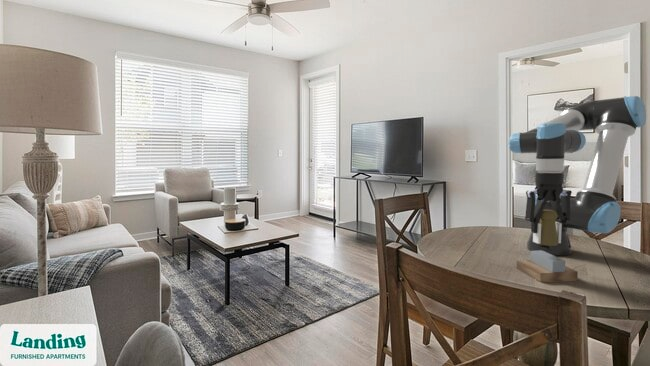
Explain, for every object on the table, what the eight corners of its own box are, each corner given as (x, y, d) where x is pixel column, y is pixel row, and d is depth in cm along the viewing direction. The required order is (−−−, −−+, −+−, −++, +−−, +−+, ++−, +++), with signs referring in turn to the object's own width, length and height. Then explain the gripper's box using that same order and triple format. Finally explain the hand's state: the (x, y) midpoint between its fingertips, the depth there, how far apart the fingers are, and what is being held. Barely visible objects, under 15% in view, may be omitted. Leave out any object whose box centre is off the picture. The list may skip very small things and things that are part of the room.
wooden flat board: (549, 268, 115) (550, 259, 115) (577, 282, 104) (577, 271, 103) (516, 270, 115) (516, 260, 115) (540, 284, 103) (540, 273, 103)
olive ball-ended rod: (550, 246, 104) (551, 212, 103) (531, 242, 110) (532, 209, 109) (562, 244, 106) (563, 210, 105) (543, 239, 112) (544, 207, 111)
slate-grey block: (541, 260, 114) (542, 250, 114) (565, 271, 103) (565, 260, 103) (530, 260, 114) (530, 250, 114) (552, 272, 103) (552, 261, 103)
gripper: (569, 170, 110) (566, 238, 112) (513, 172, 109) (511, 240, 112) (587, 171, 102) (584, 244, 105) (527, 173, 102) (525, 246, 104)
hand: (546, 242), depth 108 cm, fingers closed on olive ball-ended rod, 6 cm apart
